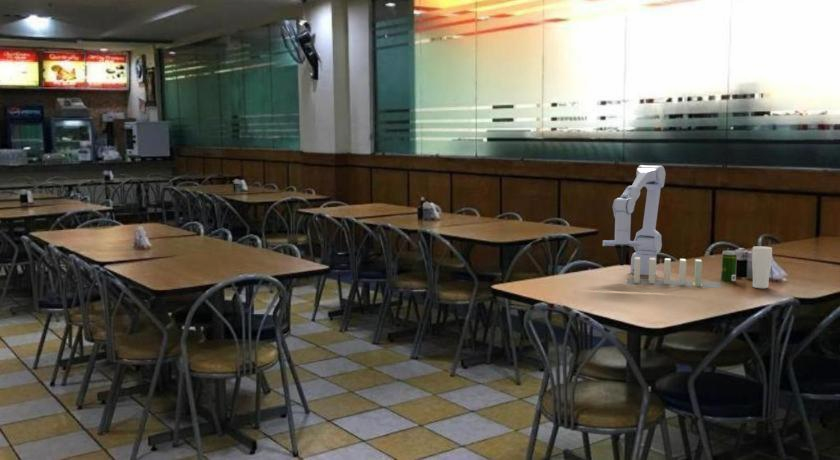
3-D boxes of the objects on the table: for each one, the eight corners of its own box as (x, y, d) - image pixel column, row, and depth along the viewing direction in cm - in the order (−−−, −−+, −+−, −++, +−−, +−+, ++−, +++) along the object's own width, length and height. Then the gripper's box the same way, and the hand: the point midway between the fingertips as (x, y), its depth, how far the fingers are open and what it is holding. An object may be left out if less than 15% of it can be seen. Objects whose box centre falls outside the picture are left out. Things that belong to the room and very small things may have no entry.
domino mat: (627, 285, 306) (627, 283, 306) (626, 280, 316) (626, 278, 316) (721, 290, 298) (721, 287, 298) (718, 284, 308) (718, 282, 308)
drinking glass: (749, 288, 301) (751, 248, 300) (751, 285, 307) (753, 245, 306) (769, 289, 298) (771, 249, 296) (771, 286, 304) (773, 246, 302)
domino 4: (679, 284, 304) (680, 260, 303) (678, 282, 309) (679, 258, 308) (685, 284, 304) (686, 260, 303) (684, 282, 308) (685, 258, 307)
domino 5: (695, 285, 303) (696, 261, 302) (694, 282, 307) (695, 259, 306) (701, 285, 302) (702, 261, 301) (699, 283, 307) (700, 259, 306)
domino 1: (634, 282, 308) (634, 258, 307) (633, 280, 313) (634, 257, 311) (639, 282, 307) (640, 259, 306) (639, 280, 312) (640, 257, 311)
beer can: (738, 282, 313) (739, 251, 311) (730, 284, 309) (732, 252, 308) (725, 280, 317) (726, 249, 315) (717, 282, 314) (719, 251, 312)
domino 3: (664, 283, 305) (665, 260, 304) (663, 281, 310) (664, 258, 309) (669, 284, 305) (670, 260, 304) (669, 281, 310) (670, 258, 308)
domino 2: (649, 283, 307) (650, 259, 306) (648, 280, 311) (649, 257, 310) (654, 283, 306) (655, 259, 305) (654, 281, 311) (654, 257, 310)
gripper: (602, 230, 307) (601, 265, 308) (642, 231, 303) (641, 267, 305) (603, 228, 314) (602, 263, 315) (642, 229, 310) (640, 264, 312)
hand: (621, 265), depth 311 cm, fingers closed
